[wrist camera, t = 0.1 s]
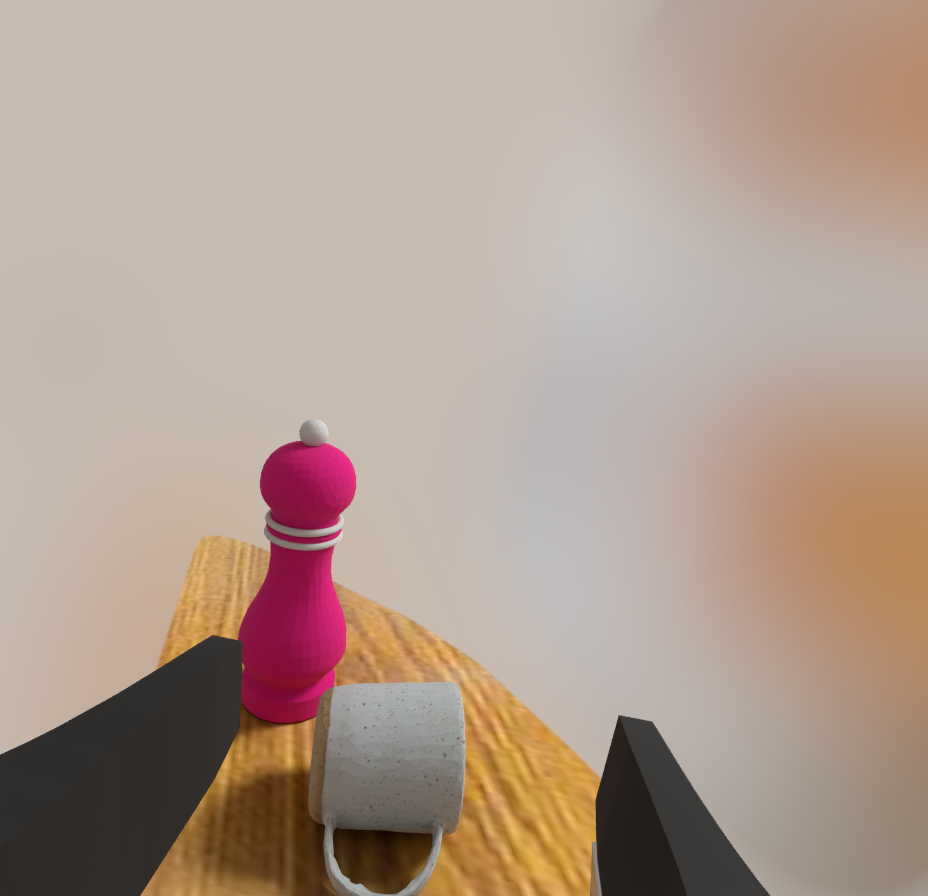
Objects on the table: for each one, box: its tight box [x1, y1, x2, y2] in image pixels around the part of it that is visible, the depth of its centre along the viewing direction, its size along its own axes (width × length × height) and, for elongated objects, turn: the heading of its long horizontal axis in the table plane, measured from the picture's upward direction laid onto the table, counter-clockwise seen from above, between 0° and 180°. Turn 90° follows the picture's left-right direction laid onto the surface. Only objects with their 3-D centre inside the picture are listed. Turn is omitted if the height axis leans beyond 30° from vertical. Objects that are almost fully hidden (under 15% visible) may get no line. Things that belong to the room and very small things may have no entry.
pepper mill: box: [238, 419, 356, 723], centre depth 42 cm, size 7×7×20 cm
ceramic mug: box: [308, 682, 465, 896], centre depth 34 cm, size 11×8×8 cm
